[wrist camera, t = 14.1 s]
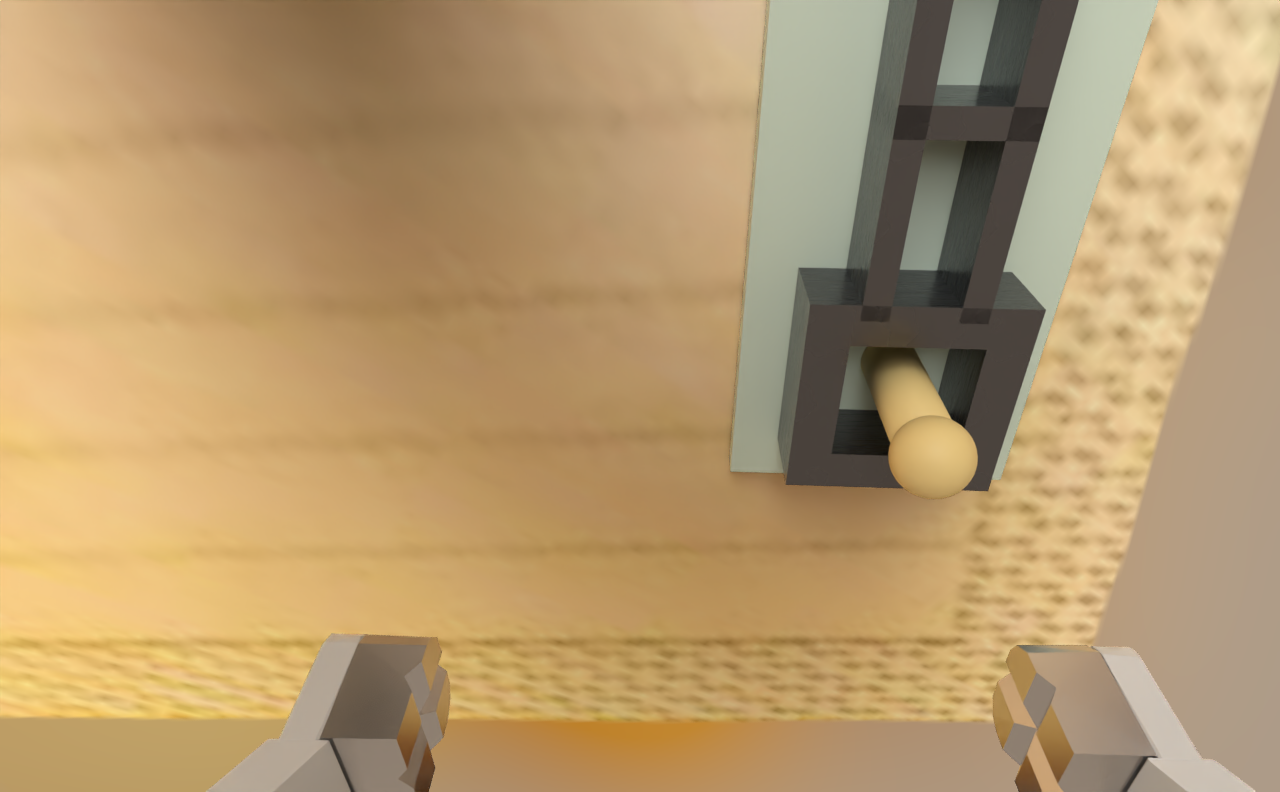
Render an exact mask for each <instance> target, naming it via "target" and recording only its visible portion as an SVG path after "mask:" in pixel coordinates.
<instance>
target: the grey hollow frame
mask: <svg viewBox="0 0 1280 792" xmlns="http://www.w3.org/2000/svg"><path fill="white" fill-rule="evenodd" d="M953 2H954V0H889V5H888V11H887V17H886V24H885V30H884V36H883V42H882V48H881V55H880V61H879V67H878V73H877V80H876V86H875V92H874V98H873V105H872V111H871V117H870V123H869V129H868V136H867V142H866V148H865V154H864V161H863V167H862V173H861V179H860V186H859V192H858V198H857V204H856V211H855V217H854V223H853V229H852V235H851V242H850V248H849V254H848V260H847V267H846V268H800V267H798V276H797V284H796V292H795V300H794V308H793V316H792V324H791V332H790V340H789V348H788V356H787V364H786V372H785V380H784V388H783V396H782V405H781V413H780V421H779V429H778V437H777V439H778V444H779V450H780V456H781V461H782V467H783V472H784V478H785V484H786V485H814V486H845V487H877V488H903V487H902V486H901V485H900V484H899V483H898V482H897V480H896V479H895V477H894V476H893V474H892V472H891V469H890V466H889V460H888V452H889V446H890V441H889V439H888V436H887V433H886V431H885V428H884V426H883V423H882V420H881V418H880V415H879V413H878V410H853V409H839V407H840V401H841V395H842V389H843V384H844V378H845V372H846V366H847V361H848V355H849V349H850V346H862V347H902V348H941V349H949V352H948V356H947V360H946V364H945V368H944V372H943V376H942V380H941V384H940V388H939V391H938V394H939V396H940V398H941V400H942V402H943V404H944V406H945V408H946V410H947V412H948V414H949V415H950V417H951V419H952V420H953V421H955V422H957V423H958V424H960V425H961V426H962V427H963V428H965V429H966V430H967V432H968V433H969V434H970V436H971V437H972V439H973V441H974V443H975V445H976V449H977V455H978V462H977V468H976V471H975V474H974V476H973V478H972V480H971V481H970V482H969V484H968V485H967V486H966V487H965V488H964V489H962V490H970V491H988V489H989V486H990V482H991V479H992V476H993V473H994V470H995V467H996V464H997V461H998V458H999V455H1000V451H1001V448H1002V445H1003V442H1004V439H1005V436H1006V433H1007V430H1008V427H1009V424H1010V420H1011V417H1012V414H1013V411H1014V408H1015V405H1016V402H1017V399H1018V396H1019V393H1020V389H1021V386H1022V383H1023V380H1024V377H1025V374H1026V371H1027V368H1028V365H1029V362H1030V358H1031V355H1032V352H1033V349H1034V346H1035V343H1036V340H1037V337H1038V334H1039V331H1040V328H1041V324H1042V321H1043V318H1044V315H1045V312H1046V309H1045V308H1044V307H1043V306H1042V305H1041V304H1040V303H1039V301H1038V300H1037V299H1036V298H1035V297H1034V296H1033V295H1032V294H1031V292H1030V291H1029V290H1028V289H1027V288H1026V287H1025V286H1024V285H1023V284H1022V282H1021V281H1020V280H1019V279H1018V278H1017V277H1016V276H1015V275H1014V274H1013V272H1003V270H1004V266H1005V263H1006V259H1007V256H1008V252H1009V249H1010V245H1011V241H1012V238H1013V234H1014V231H1015V227H1016V224H1017V220H1018V216H1019V213H1020V209H1021V206H1022V202H1023V199H1024V195H1025V191H1026V188H1027V184H1028V181H1029V177H1030V174H1031V170H1032V166H1033V163H1034V159H1035V156H1036V152H1037V149H1038V145H1039V142H1040V138H1041V134H1042V131H1043V127H1044V124H1045V120H1046V117H1047V113H1048V109H1049V106H1050V102H1051V99H1052V95H1053V92H1054V88H1055V84H1056V81H1057V77H1058V74H1059V70H1060V67H1061V63H1062V59H1063V56H1064V52H1065V49H1066V45H1067V42H1068V38H1069V35H1070V31H1071V27H1072V24H1073V20H1074V17H1075V13H1076V10H1077V6H1078V2H1079V0H999V2H998V7H997V11H996V15H995V20H994V24H993V28H992V33H991V37H990V42H989V46H988V50H987V55H986V59H985V63H984V68H983V72H982V76H981V81H980V85H937V82H938V77H939V72H940V67H941V62H942V57H943V52H944V47H945V42H946V37H947V32H948V27H949V22H950V17H951V12H952V7H953ZM926 140H954V141H967V142H966V146H965V150H964V155H963V159H962V163H961V168H960V172H959V176H958V181H957V185H956V190H955V194H954V198H953V203H952V207H951V211H950V216H949V220H948V224H947V229H946V233H945V237H944V242H943V246H942V250H941V255H940V259H939V264H938V268H937V270H900V265H901V260H902V255H903V250H904V246H905V241H906V236H907V231H908V226H909V221H910V216H911V211H912V206H913V201H914V196H915V191H916V186H917V181H918V176H919V171H920V166H921V161H922V156H923V151H924V146H925V141H926Z"/></svg>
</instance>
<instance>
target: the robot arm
mask: <svg viewBox="0 0 1280 792" xmlns="http://www.w3.org/2000/svg"><path fill="white" fill-rule="evenodd" d="M441 653H442V651H441V648H440V644H439V641H438V638H437V637H415V636H390V635H367V634H331V635H330V636H329V637H328V638H327V639H326V640H325V642H324V643H323V644H322V646H321V648H320V650H319V652H318V654H317V656H316V659H315V661H314V663H313V665H312V667H311V669H310V672H309V674H308V676H307V678H306V680H305V683H304V685H303V687H302V689H301V691H300V693H299V696H298V698H297V700H296V702H295V704H294V706H293V709H292V711H291V713H290V715H289V717H288V720H287V722H286V724H285V726H284V729H283V730H282V733H281V735H280V737H279V739H268V740H266V741H265V742H264V743H263V744H262V745H260V746H259V747H258V748H257V749H256V750H255V751H253V752H252V753H251V754H250V755H249V756H247V757H246V758H245V759H244V760H243V761H241V762H240V763H239V764H238V765H237V766H236V767H235V768H233V769H232V770H231V771H230V772H229V773H227V774H226V775H225V776H224V777H223V778H221V779H220V780H219V781H218V782H217V783H216V784H214V785H213V786H212V787H211V788H210V789H208V790H207V791H206V792H429V789H430V786H431V781H432V778H433V774H434V771H435V765H434V762H433V758H432V755H431V751H430V750H431V749H432V748H433V747H434V746H435V745H436V744H437V743H438V742H439V741H440V740H441V739H442V738H443V737H444V733H445V729H446V725H447V721H448V715H449V706H450V682H449V678H448V674H447V671H446V670H444V669H443V668H442V667H440V666H439V665H438V664H439V660H440V657H441ZM1006 663H1007V666H1008V668H1009V671H1010V674H1008V675H1007V676H1005V677H1004V678H1002V679H1001V680H999V681H998V682H997V685H996V688H995V691H994V694H993V719H994V723H995V728H996V732H997V735H998V738H999V740H1000V743H1001V746H1002V749H1003V750H1004V751H1005V752H1006V753H1007V754H1008V755H1009V756H1010V757H1011V758H1013V759H1014V760H1015V761H1016V762H1017V763H1018V764H1019V765H1020V768H1019V770H1018V773H1017V776H1016V779H1015V783H1016V786H1017V788H1018V791H1019V792H1256V791H1255V790H1254V789H1253V788H1251V787H1250V786H1249V785H1247V784H1246V783H1245V782H1243V781H1242V780H1241V779H1239V778H1238V777H1237V776H1235V775H1234V774H1233V773H1231V772H1230V771H1229V770H1227V769H1226V768H1225V767H1223V766H1222V765H1221V764H1219V763H1218V762H1217V761H1216V760H1214V759H1202V757H1201V756H1200V754H1199V752H1198V751H1197V749H1196V748H1195V746H1194V744H1193V743H1192V741H1191V739H1190V738H1189V736H1188V734H1187V733H1186V731H1185V729H1184V728H1183V726H1182V724H1181V723H1180V721H1179V720H1178V718H1177V717H1176V715H1175V713H1174V711H1173V710H1172V708H1171V707H1170V705H1169V703H1168V702H1167V700H1166V698H1165V697H1164V695H1163V693H1162V692H1161V690H1160V688H1159V687H1158V685H1157V684H1156V682H1155V680H1154V679H1153V677H1152V675H1151V674H1150V672H1149V670H1148V669H1147V667H1146V666H1145V664H1144V662H1143V661H1142V659H1141V657H1140V656H1139V654H1138V653H1137V652H1135V651H1134V650H1133V649H1132V648H1130V647H1120V646H1118V647H1116V646H1115V647H1114V646H1110V647H1109V646H1107V647H1106V646H1103V647H1102V646H1092V647H1089V646H1087V645H1017V646H1015V647H1014V648H1013V649H1011V650H1010V652H1009V655H1008V657H1007V659H1006Z"/></svg>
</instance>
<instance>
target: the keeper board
mask: <svg viewBox="0 0 1280 792" xmlns="http://www.w3.org/2000/svg"><path fill="white" fill-rule="evenodd" d="M998 2H999V0H954V2H953V7H952V12H951V17H950V22H949V27H948V32H947V37H946V42H945V47H944V52H943V57H942V62H941V67H940V72H939V77H938V82H937V85H980V81H981V76H982V72H983V68H984V63H985V59H986V55H987V50H988V46H989V42H990V37H991V33H992V28H993V24H994V20H995V15H996V11H997V7H998ZM1157 3H1158V0H1079V2H1078V6H1077V10H1076V13H1075V17H1074V20H1073V24H1072V27H1071V31H1070V35H1069V38H1068V42H1067V45H1066V49H1065V52H1064V56H1063V59H1062V63H1061V67H1060V70H1059V74H1058V77H1057V81H1056V84H1055V88H1054V92H1053V95H1052V99H1051V102H1050V106H1049V109H1048V113H1047V117H1046V120H1045V124H1044V127H1043V131H1042V134H1041V138H1040V142H1039V145H1038V149H1037V152H1036V156H1035V159H1034V163H1033V166H1032V170H1031V174H1030V177H1029V181H1028V184H1027V188H1026V191H1025V195H1024V199H1023V202H1022V206H1021V209H1020V213H1019V216H1018V220H1017V224H1016V227H1015V231H1014V234H1013V238H1012V241H1011V245H1010V249H1009V252H1008V256H1007V259H1006V263H1005V266H1004V270H1003V272H1013V274H1014V275H1015V276H1016V277H1017V278H1018V279H1019V280H1020V281H1021V282H1022V284H1023V285H1024V286H1025V287H1026V288H1027V289H1028V290H1029V291H1030V292H1031V294H1032V295H1033V296H1034V297H1035V298H1036V299H1037V300H1038V301H1039V303H1040V304H1041V305H1042V306H1043V307H1044V308H1045V309H1046V312H1045V315H1044V318H1043V321H1042V324H1041V328H1040V331H1039V334H1038V337H1037V340H1036V343H1035V346H1034V349H1033V352H1032V355H1031V358H1030V362H1029V365H1028V368H1027V371H1026V374H1025V377H1024V380H1023V383H1022V386H1021V389H1020V393H1019V396H1018V399H1017V402H1016V405H1015V408H1014V411H1013V414H1012V417H1011V420H1010V424H1009V427H1008V430H1007V433H1006V436H1005V439H1004V442H1003V445H1002V448H1001V451H1000V455H999V458H998V461H997V464H996V467H995V470H994V473H993V476H992V479H991V480H1000V479H1001V476H1002V473H1003V470H1004V467H1005V464H1006V461H1007V458H1008V455H1009V452H1010V449H1011V446H1012V443H1013V440H1014V437H1015V434H1016V431H1017V428H1018V424H1019V421H1020V418H1021V415H1022V412H1023V409H1024V406H1025V403H1026V400H1027V397H1028V394H1029V391H1030V388H1031V385H1032V382H1033V379H1034V376H1035V373H1036V370H1037V367H1038V364H1039V361H1040V358H1041V355H1042V352H1043V349H1044V346H1045V343H1046V340H1047V337H1048V334H1049V331H1050V327H1051V324H1052V321H1053V318H1054V315H1055V312H1056V309H1057V306H1058V303H1059V300H1060V297H1061V294H1062V291H1063V288H1064V285H1065V282H1066V279H1067V276H1068V273H1069V270H1070V267H1071V264H1072V261H1073V258H1074V255H1075V252H1076V249H1077V246H1078V243H1079V240H1080V237H1081V234H1082V230H1083V227H1084V224H1085V221H1086V218H1087V215H1088V212H1089V209H1090V206H1091V203H1092V200H1093V197H1094V194H1095V191H1096V188H1097V185H1098V182H1099V179H1100V176H1101V173H1102V170H1103V167H1104V164H1105V161H1106V158H1107V155H1108V152H1109V149H1110V146H1111V143H1112V140H1113V136H1114V133H1115V130H1116V127H1117V124H1118V121H1119V118H1120V115H1121V112H1122V109H1123V106H1124V103H1125V100H1126V97H1127V94H1128V91H1129V88H1130V85H1131V82H1132V79H1133V76H1134V73H1135V70H1136V67H1137V64H1138V61H1139V58H1140V55H1141V52H1142V49H1143V46H1144V43H1145V39H1146V36H1147V33H1148V30H1149V27H1150V24H1151V21H1152V18H1153V15H1154V12H1155V9H1156V6H1157ZM888 5H889V0H767V7H766V19H765V31H764V43H763V56H762V68H761V80H760V92H759V104H758V116H757V128H756V140H755V152H754V164H753V176H752V189H751V201H750V213H749V225H748V237H747V249H746V261H745V273H744V285H743V297H742V310H741V322H740V334H739V346H738V358H737V370H736V382H735V394H734V406H733V418H732V430H731V443H730V455H729V461H730V472H762V473H784V472H783V467H782V461H781V456H780V450H779V444H778V439H777V437H778V429H779V421H780V413H781V405H782V396H783V388H784V380H785V372H786V364H787V356H788V348H789V340H790V332H791V324H792V316H793V308H794V300H795V292H796V284H797V276H798V267H800V268H846V267H847V260H848V254H849V248H850V242H851V235H852V229H853V223H854V217H855V211H856V204H857V198H858V192H859V186H860V179H861V173H862V167H863V161H864V154H865V148H866V142H867V136H868V129H869V123H870V117H871V111H872V105H873V98H874V92H875V86H876V80H877V73H878V67H879V61H880V55H881V48H882V42H883V36H884V30H885V24H886V17H887V11H888ZM966 142H967V141H954V140H926V141H925V146H924V151H923V156H922V161H921V166H920V171H919V176H918V181H917V186H916V191H915V196H914V201H913V206H912V211H911V216H910V221H909V226H908V231H907V236H906V241H905V246H904V250H903V255H902V260H901V265H900V270H937V268H938V264H939V259H940V255H941V250H942V246H943V242H944V237H945V233H946V229H947V224H948V220H949V216H950V211H951V207H952V203H953V198H954V194H955V190H956V185H957V181H958V176H959V172H960V168H961V163H962V159H963V155H964V150H965V146H966ZM948 352H949V349H941V348H902V347H862V346H850V349H849V355H848V361H847V366H846V372H845V378H844V384H843V389H842V395H841V401H840V407H839V409H853V410H878V413H879V415H880V418H881V420H882V423H883V426H884V428H885V431H886V433H887V436H888V439H889V441H890V446H889V452H888V460H889V466H890V469H891V472H892V474H893V476H894V477H895V479H896V480H897V482H898V483H899V484H900V485H901V486H902V487H903V488H904V489H905V490H907V491H908V492H910V493H912V494H914V495H916V496H919V497H922V498H926V499H942V498H947V497H950V496H952V495H955V494H957V493H958V492H960V491H961V490H962V489H964V488H965V487H966V486H967V485H968V484H969V482H970V481H971V480H972V478H973V476H974V474H975V471H976V468H977V462H978V455H977V449H976V445H975V443H974V441H973V439H972V437H971V436H970V434H969V433H968V432H967V430H966V429H965V428H963V427H962V426H961V425H960V424H958V423H957V422H955V421H953V420H952V419H951V417H950V415H949V414H948V412H947V410H946V408H945V406H944V404H943V402H942V400H941V398H940V396H939V394H938V391H939V388H940V384H941V380H942V376H943V372H944V368H945V364H946V360H947V356H948Z"/></svg>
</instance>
